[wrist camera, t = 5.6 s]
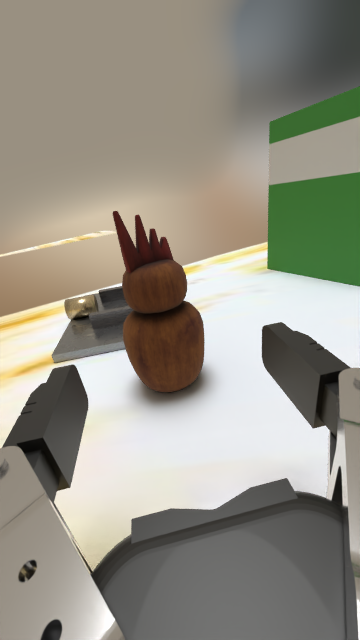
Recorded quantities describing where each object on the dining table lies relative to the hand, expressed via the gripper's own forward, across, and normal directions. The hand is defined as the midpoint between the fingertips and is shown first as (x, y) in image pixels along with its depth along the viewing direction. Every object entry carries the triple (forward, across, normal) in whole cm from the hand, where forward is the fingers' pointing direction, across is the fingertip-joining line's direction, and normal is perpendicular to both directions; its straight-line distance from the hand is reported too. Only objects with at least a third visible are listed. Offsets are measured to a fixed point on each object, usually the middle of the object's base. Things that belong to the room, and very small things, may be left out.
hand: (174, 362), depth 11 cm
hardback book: (+31, -30, +9) cm, 44 cm away
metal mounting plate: (+28, +5, +9) cm, 30 cm away
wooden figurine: (+10, 0, +9) cm, 14 cm away
